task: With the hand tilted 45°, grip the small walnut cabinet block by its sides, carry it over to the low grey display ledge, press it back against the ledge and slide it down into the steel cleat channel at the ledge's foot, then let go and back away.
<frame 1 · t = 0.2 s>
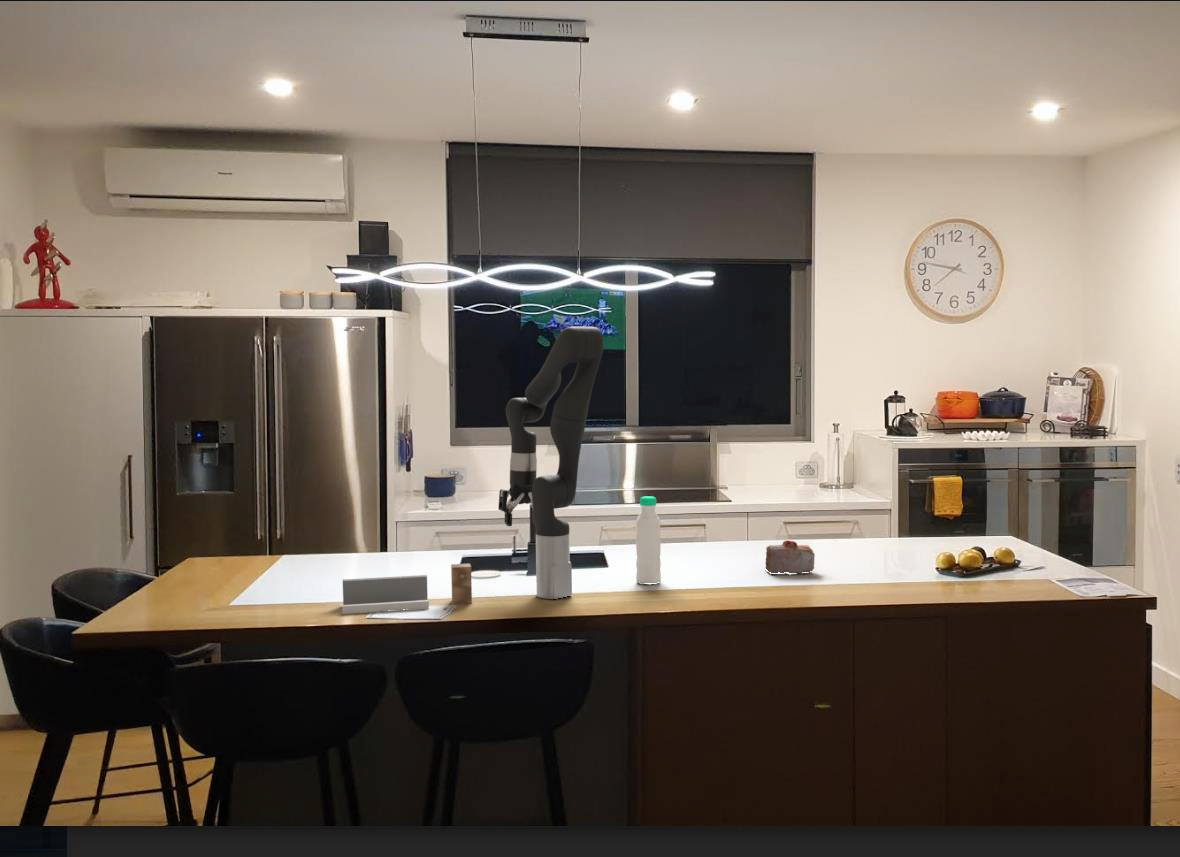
hand: (522, 524, 281), 18 cm above the countertop, tool pointing down, fingers open, 8 cm apart
grey display ledge: (385, 603, 265), on the countertop
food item: (789, 573, 297), on the countertop
walnut cabinet block: (461, 602, 266), on the countertop
water bottle: (648, 583, 286), on the countertop
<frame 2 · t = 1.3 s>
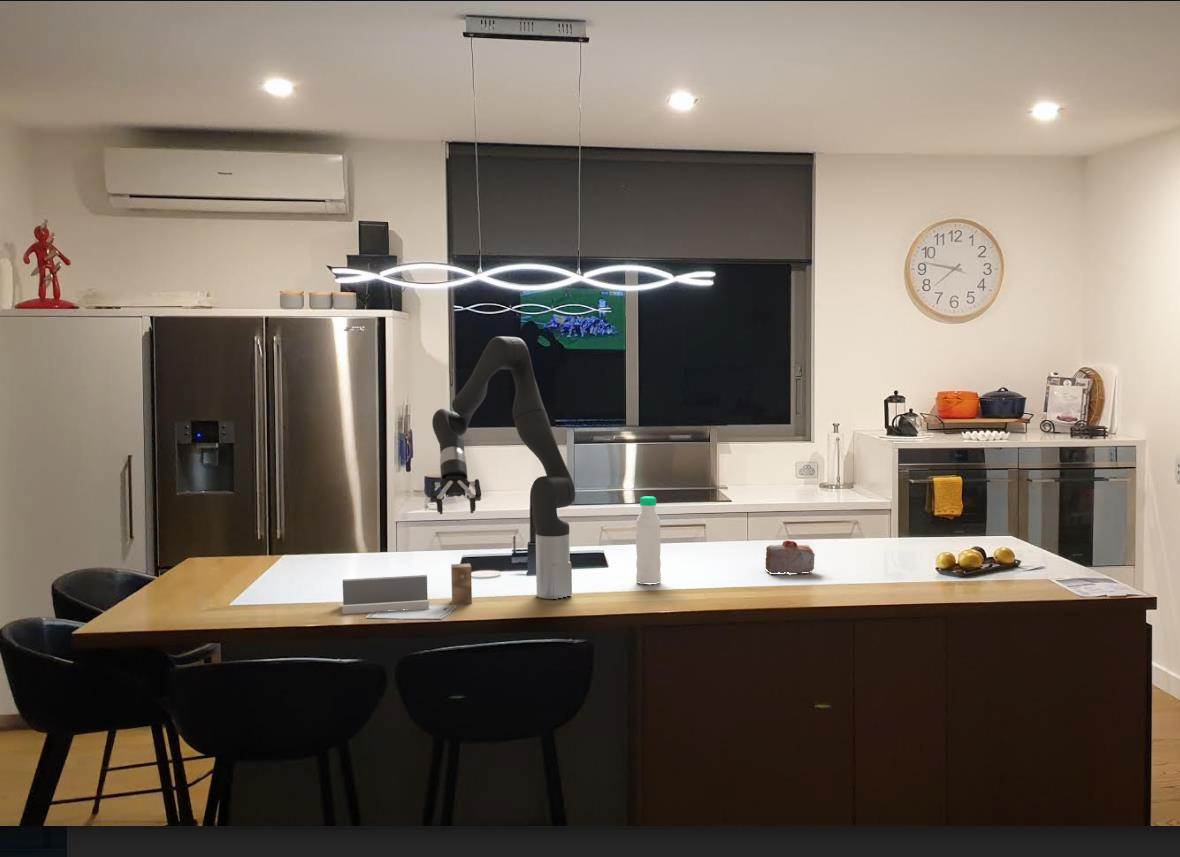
hand: (456, 512, 276), 23 cm above the countertop, tool tilted 45°, fingers open, 8 cm apart
nothing on the countertop moved.
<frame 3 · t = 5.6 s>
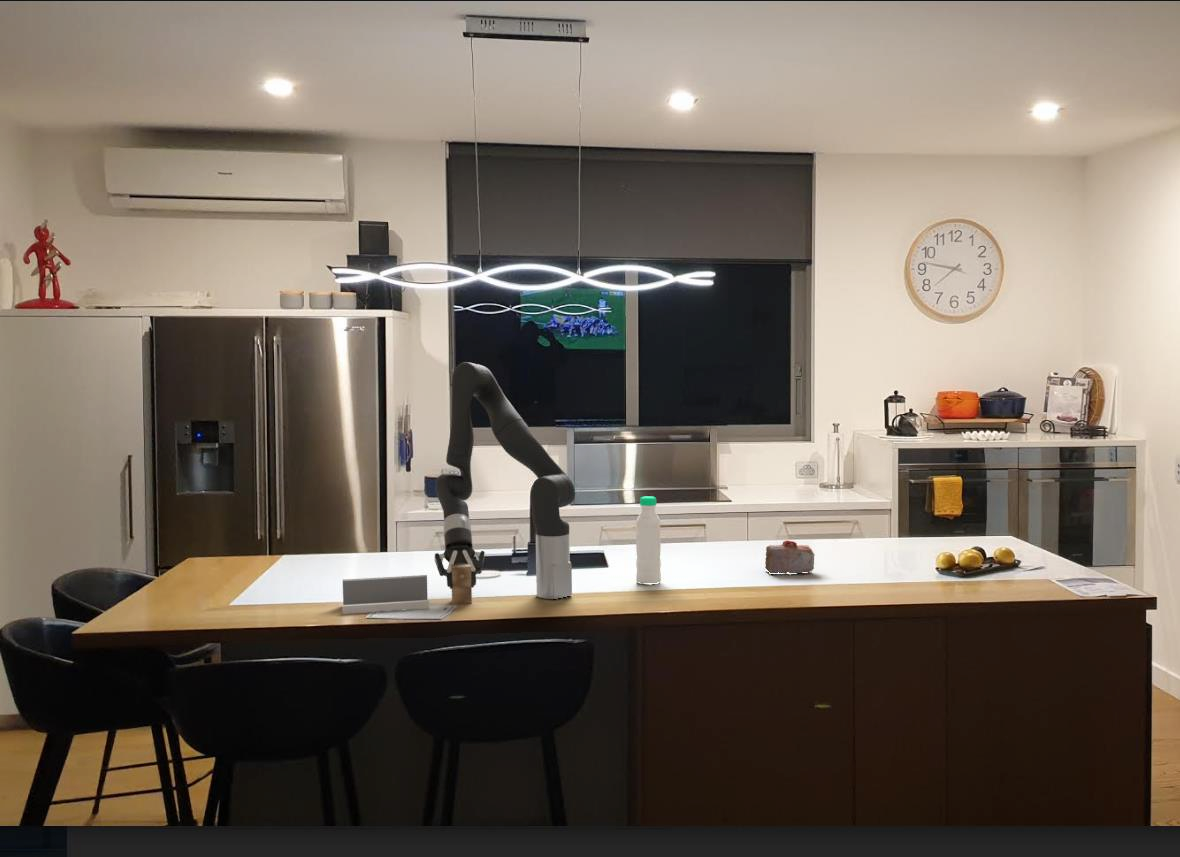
hand: (462, 586, 264), 5 cm above the countertop, tool tilted 45°, fingers closed on walnut cabinet block, 5 cm apart
walnut cabinet block: (461, 602, 266), on the countertop, touching gripper
everything else where it was.
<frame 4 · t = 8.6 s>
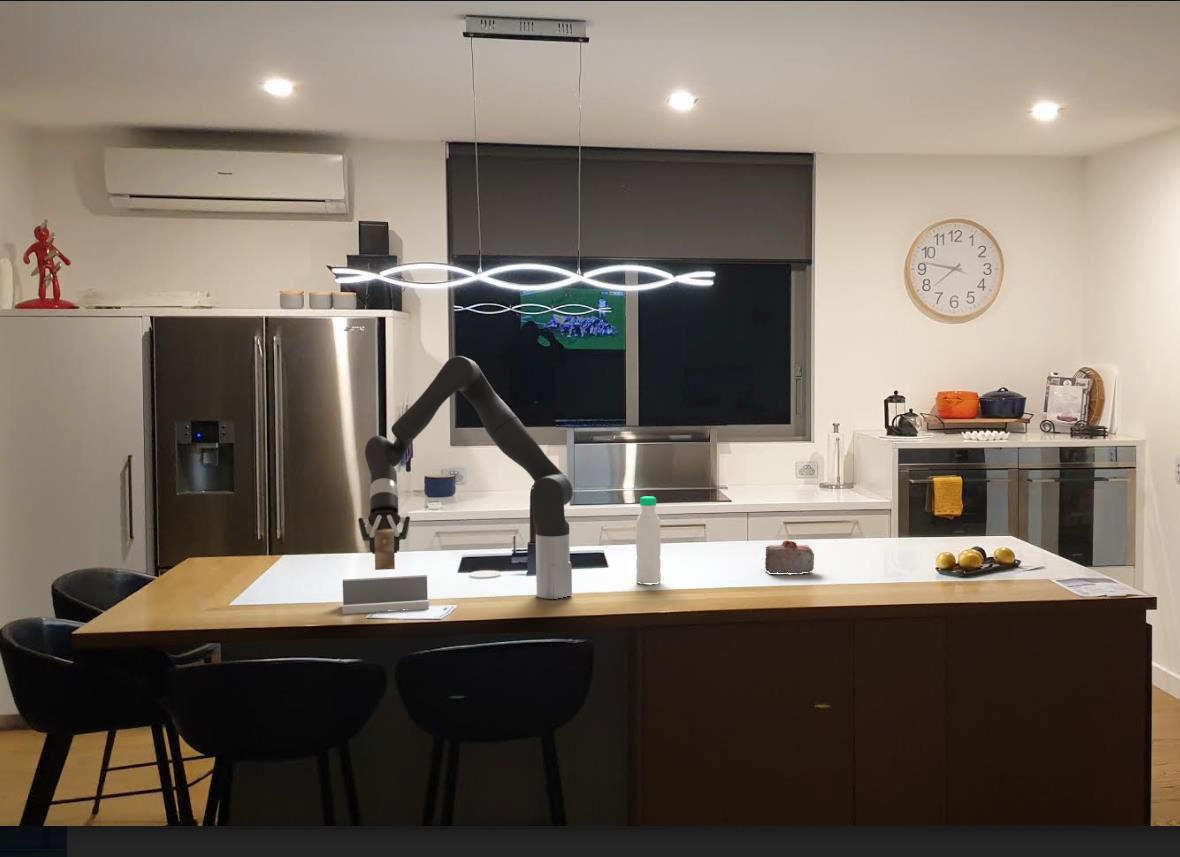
hand: (384, 551, 258), 15 cm above the countertop, tool tilted 45°, fingers closed on walnut cabinet block, 5 cm apart
walnut cabinet block: (385, 567, 260), point 11 cm above the countertop, touching gripper
everything else where it was.
when the fingers open (6 cm above the countertop, at t = 12.0 s): walnut cabinet block drops 1 cm, resting in grey display ledge.
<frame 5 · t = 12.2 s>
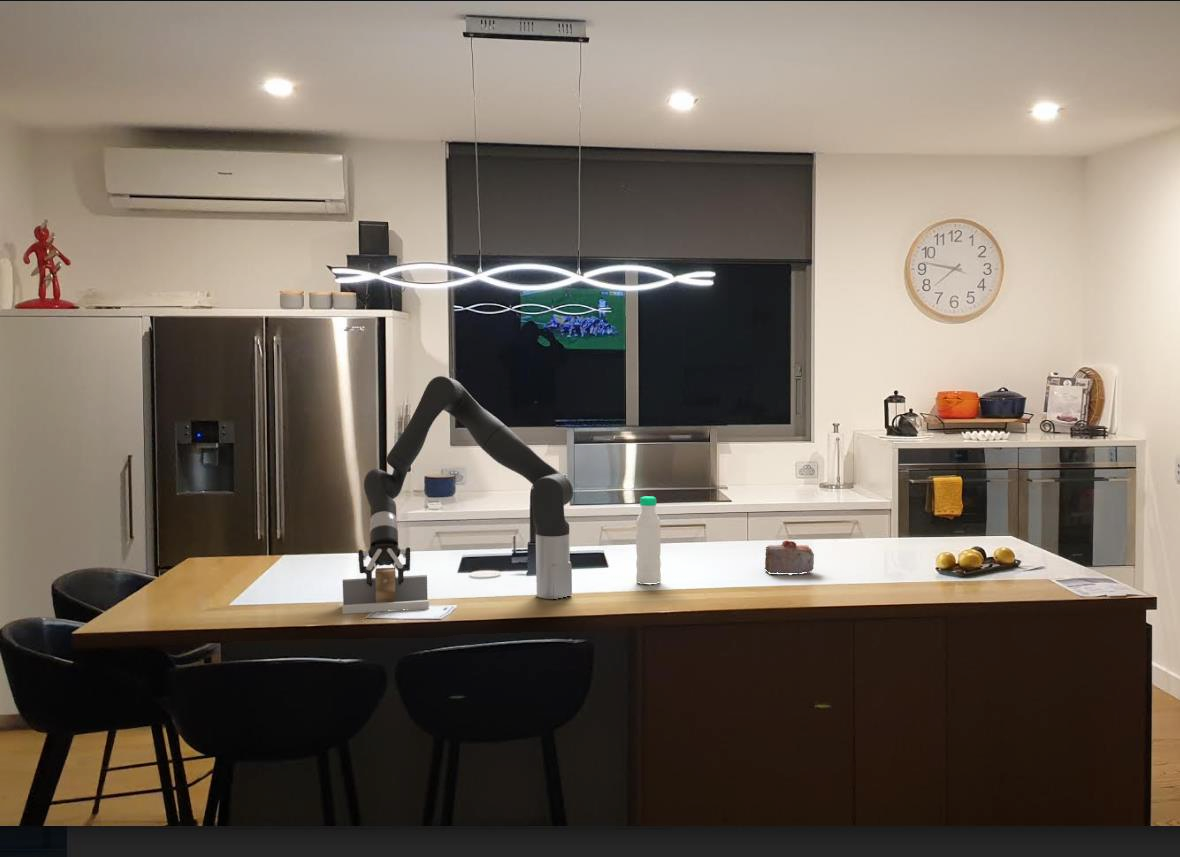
hand: (385, 583, 260), 6 cm above the countertop, tool tilted 45°, fingers open, 7 cm apart
walnut cabinet block: (386, 606, 262), resting in grey display ledge
everything else where it was.
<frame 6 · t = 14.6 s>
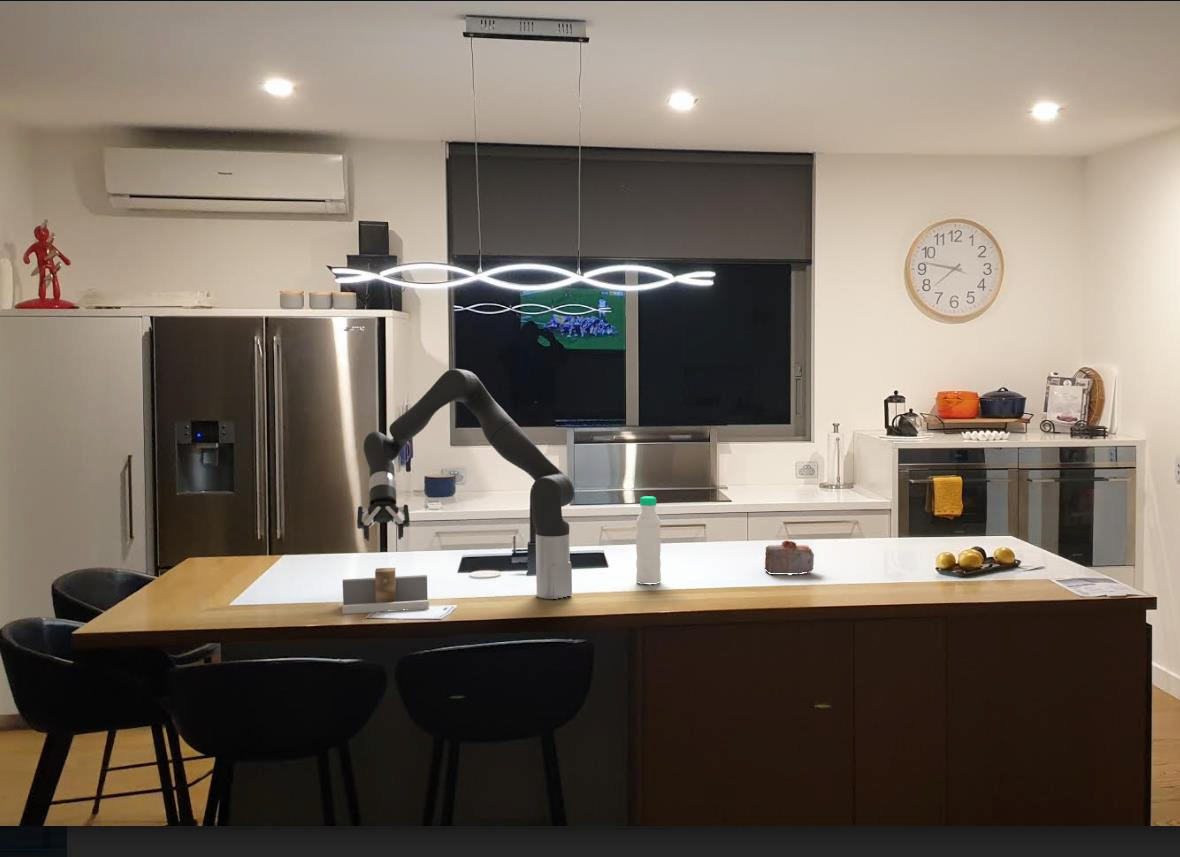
hand: (383, 538, 271), 16 cm above the countertop, tool tilted 45°, fingers open, 8 cm apart
nothing on the countertop moved.
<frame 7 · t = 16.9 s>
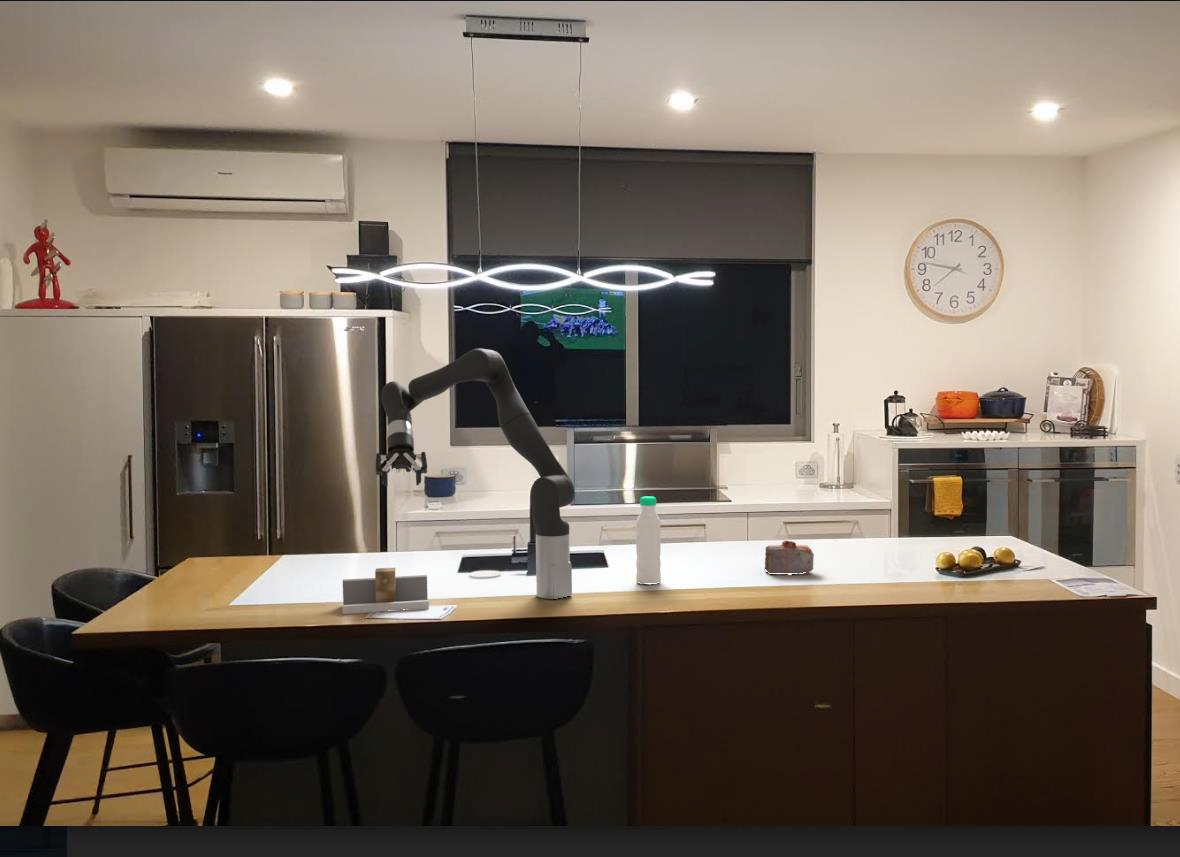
hand: (402, 484, 274), 31 cm above the countertop, tool tilted 45°, fingers open, 8 cm apart
nothing on the countertop moved.
at the end: walnut cabinet block inside the target area on the grey display ledge (0.1 cm from its centre), point 0.0 cm above the grey display ledge's base; walnut cabinet block tilted 0°; the gripper is holding nothing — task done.
